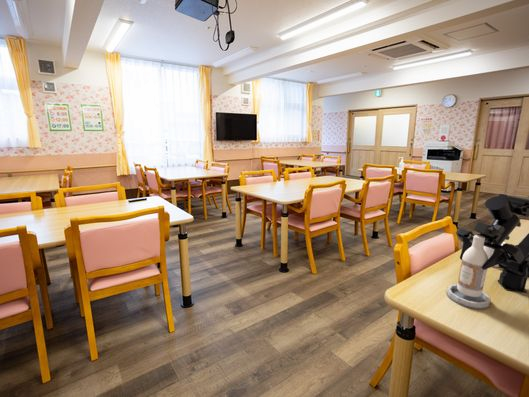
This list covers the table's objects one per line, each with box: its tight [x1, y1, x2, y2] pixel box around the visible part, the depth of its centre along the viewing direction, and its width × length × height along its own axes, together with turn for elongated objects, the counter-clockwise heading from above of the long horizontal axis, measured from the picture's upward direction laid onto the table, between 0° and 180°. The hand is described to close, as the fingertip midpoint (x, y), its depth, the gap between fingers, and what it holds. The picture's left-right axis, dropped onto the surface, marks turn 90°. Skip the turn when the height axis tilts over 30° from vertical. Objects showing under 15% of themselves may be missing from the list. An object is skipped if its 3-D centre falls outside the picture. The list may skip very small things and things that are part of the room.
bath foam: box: [456, 234, 488, 297], centre depth 94 cm, size 7×7×20 cm
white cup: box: [483, 241, 506, 268], centre depth 122 cm, size 8×8×10 cm
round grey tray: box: [446, 283, 491, 310], centre depth 97 cm, size 12×12×2 cm
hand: (471, 263), depth 94 cm, fingers closed on bath foam, 7 cm apart
